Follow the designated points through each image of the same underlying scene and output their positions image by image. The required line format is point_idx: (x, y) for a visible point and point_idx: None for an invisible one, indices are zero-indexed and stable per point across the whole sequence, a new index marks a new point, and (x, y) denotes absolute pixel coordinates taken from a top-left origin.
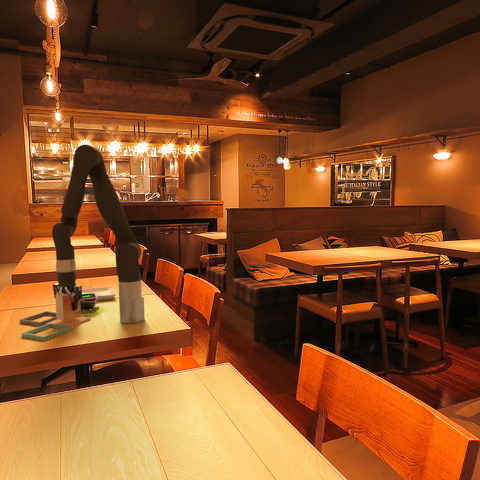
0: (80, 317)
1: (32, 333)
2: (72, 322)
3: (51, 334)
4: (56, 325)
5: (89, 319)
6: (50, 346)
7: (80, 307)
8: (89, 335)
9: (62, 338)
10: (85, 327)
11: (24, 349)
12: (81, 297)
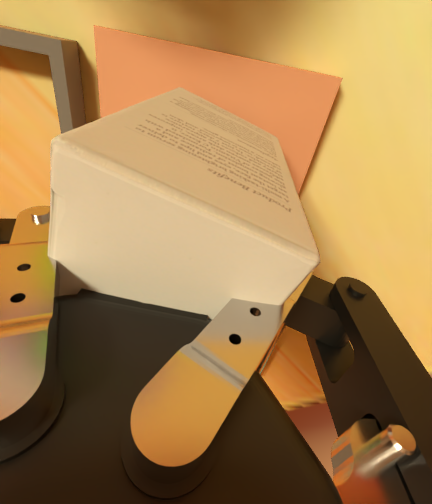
0: (242, 81)
1: None
2: None
3: (266, 361)
4: None
5: (333, 93)
6: (306, 392)
7: (285, 161)
8: (417, 323)
9: (309, 350)
10: (359, 238)
11: None
12: (378, 305)
